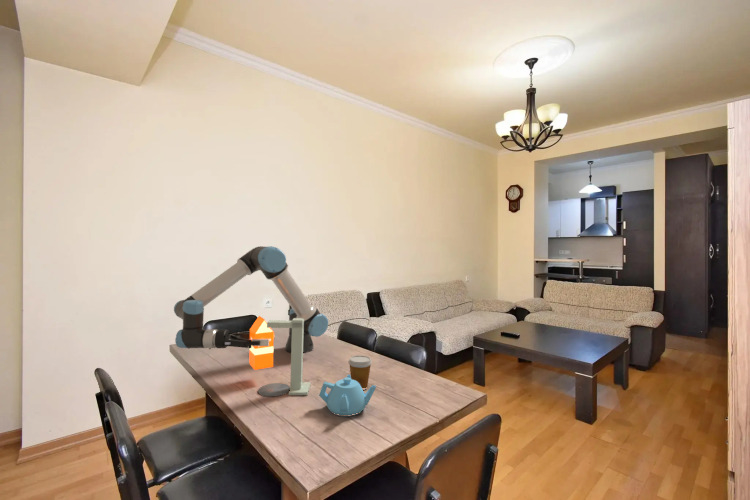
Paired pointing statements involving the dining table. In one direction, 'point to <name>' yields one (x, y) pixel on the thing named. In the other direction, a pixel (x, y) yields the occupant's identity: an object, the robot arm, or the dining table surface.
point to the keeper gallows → (294, 354)
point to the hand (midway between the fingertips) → (271, 338)
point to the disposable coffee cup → (360, 369)
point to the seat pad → (273, 389)
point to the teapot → (346, 396)
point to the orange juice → (261, 354)
